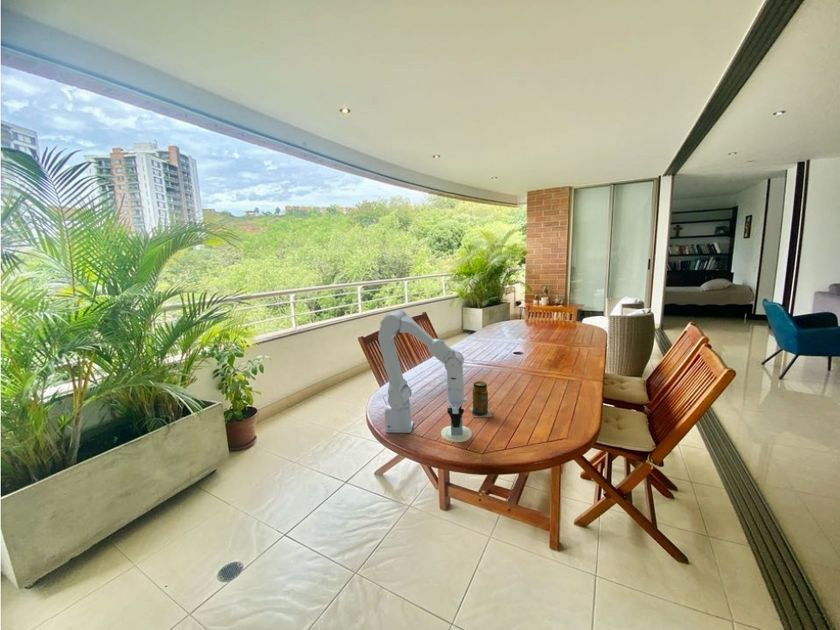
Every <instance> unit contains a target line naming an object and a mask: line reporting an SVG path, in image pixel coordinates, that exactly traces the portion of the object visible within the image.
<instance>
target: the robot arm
mask: <svg viewBox="0 0 840 630" xmlns="http://www.w3.org/2000/svg"><path fill="white" fill-rule="evenodd" d="M398 332H399V333H400V334H402V333H403V334H406V333H407V334H410V335H412V336H413V337H414V338H416V339H417V340H418V341H420V342H421V343H422V344H424V345H425V346H426V347H427V350H428V353H430V354H431V355H432V356H433V357H434V358H436V359H437V360H438V361H439V362H441V363H442V364H443V365H444V368H445V370H446V391H447V393H446V395H447V398H446V402H447V403H448V405H449V407H447V408H446V409H447V413H448V415H449V417H450V422H451V421H452V425H453V427H458V428H459V426H460V420H461V416H462V417H463V415H464V412H465V409H464V408H462V407H463V404H464V403H468V398H467V397H465V396H464V395H465V393H464V368H463V365H464V363H465V358H464V357H465V356H463V354H462V353H461V352H459V351H457V350H455V349H453V348H451V347H449V345H447V343H446V341H445V340H444V339H440V338H433V337H432V336H431V335H430V334H429V333H428V332H427V331H426V330H425V329H423V327H421V326H420V325H419V324H418V323H417V322H416V321H414V319H413V318H412V317H411V316H410V315H409V314H407V313H406V312H405V311H403V310H401V309H398V310H397V309H396V310H395V311H393V312H391V313H390V314H387V315H385V316H384V318H383V319H382V320H381V321H380V326H379V330H378V334H377V337H378V343H379V347H380V351H381V355H382V358H383V363H384V366H385V370H386V376H387V379H388V389H387V403H388V404H386V405H385V408H384V423H385V425H384V426H385V433H394V434H395V433H396V434H397V433H398V434H399V433H401V434H403V433H404V434H409V433H412V430H413V425H414V420H412V415H411V414H412V413H411V412H412V411H411V403H410V402H411V401H410V398H411V397H412V393H413V392H412V389H411V387H410V386H409V385H408V381H407V380H406V379H405V378H404V376H403V372H402V368H401V367H402V366H401V363H400V360H399V356H398V351H397V347H396V344H395V339H394V338H395V337H396V335H397V334H398Z"/></svg>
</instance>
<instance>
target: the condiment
mask: <svg viewBox="0 0 840 630" xmlns="http://www.w3.org/2000/svg"><path fill="white" fill-rule="evenodd" d="M472 388H473V389H472V407H469V410H470V412H471V414H472V416H473V417H474V418H486V417H489V418H491V417H493V415H492V414H491V413H492V412H490V410H489V397H488V396H489V391H488V384H487V383H486V382H485V381H481V380H479V381H475V382H473V387H472Z"/></svg>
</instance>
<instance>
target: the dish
mask: <svg viewBox="0 0 840 630" xmlns="http://www.w3.org/2000/svg"><path fill="white" fill-rule="evenodd" d="M440 433H441V434H440V435H441V437H442V438H443V439H444V440H446V441H448V442H452V443H463V442H466V441H468V440H470V439H471V438H472V436H473V432H472V430H471V428H469V427H468V426H465V425H462V434H463V435H451V425H448V426H445V427H444V428H442V429H441V432H440Z"/></svg>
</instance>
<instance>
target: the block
mask: <svg viewBox="0 0 840 630" xmlns="http://www.w3.org/2000/svg"><path fill="white" fill-rule="evenodd" d="M450 426H451V435H463V434H462V426H463V415H462V416H461V420H460V426H459V428H458V427H453V425H452V421H451V420H450Z"/></svg>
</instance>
